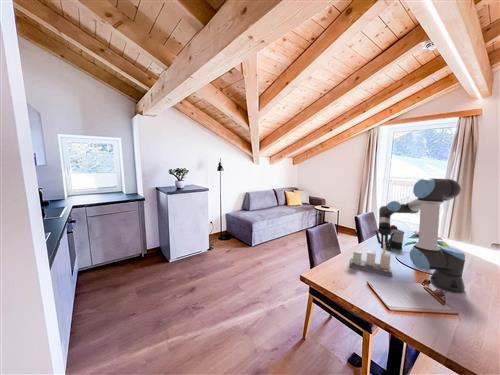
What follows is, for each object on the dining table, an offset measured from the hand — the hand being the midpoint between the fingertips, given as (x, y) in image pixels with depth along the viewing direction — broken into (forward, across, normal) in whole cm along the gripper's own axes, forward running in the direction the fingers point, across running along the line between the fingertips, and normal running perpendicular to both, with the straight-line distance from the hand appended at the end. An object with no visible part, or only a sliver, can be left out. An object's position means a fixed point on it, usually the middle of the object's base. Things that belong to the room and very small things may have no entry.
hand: (383, 252), depth 150 cm
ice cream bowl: (-36, -11, -48) cm, 61 cm away
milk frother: (-20, -10, -33) cm, 40 cm away
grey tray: (+14, +8, +1) cm, 16 cm away
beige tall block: (+11, 0, +1) cm, 11 cm away
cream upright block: (+11, +8, +1) cm, 14 cm away
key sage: (+14, +17, +4) cm, 22 cm away
